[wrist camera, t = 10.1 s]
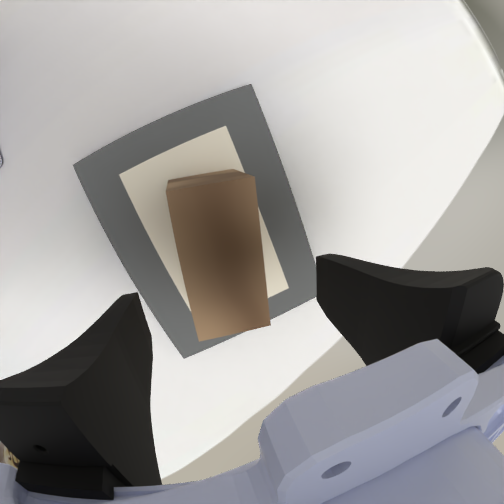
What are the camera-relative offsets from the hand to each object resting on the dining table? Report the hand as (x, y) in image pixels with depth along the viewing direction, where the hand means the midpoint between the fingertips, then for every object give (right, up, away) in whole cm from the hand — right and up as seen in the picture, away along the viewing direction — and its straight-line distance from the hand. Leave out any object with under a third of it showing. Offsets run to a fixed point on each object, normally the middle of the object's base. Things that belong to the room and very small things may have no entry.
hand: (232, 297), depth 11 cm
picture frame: (-2, +3, +8) cm, 9 cm away
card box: (-2, +3, +7) cm, 8 cm away
